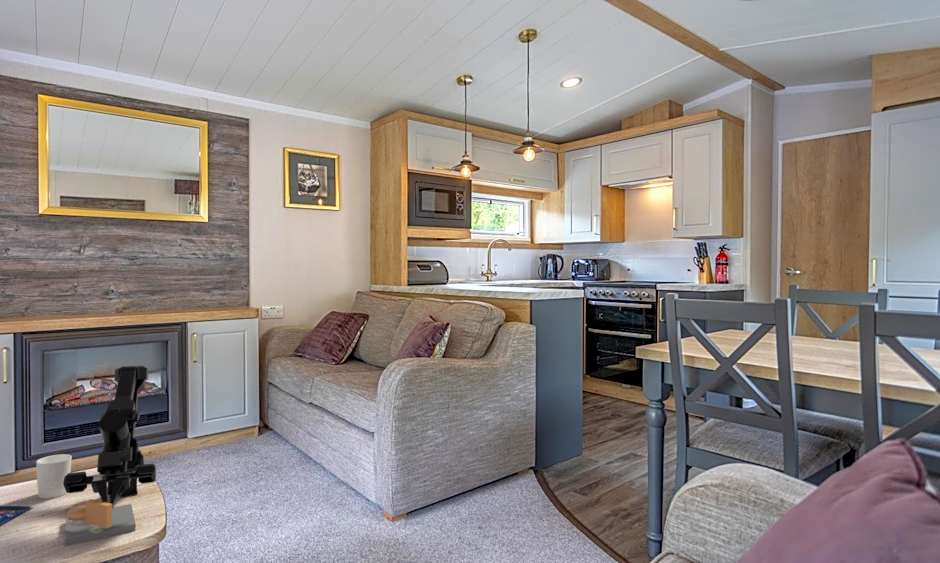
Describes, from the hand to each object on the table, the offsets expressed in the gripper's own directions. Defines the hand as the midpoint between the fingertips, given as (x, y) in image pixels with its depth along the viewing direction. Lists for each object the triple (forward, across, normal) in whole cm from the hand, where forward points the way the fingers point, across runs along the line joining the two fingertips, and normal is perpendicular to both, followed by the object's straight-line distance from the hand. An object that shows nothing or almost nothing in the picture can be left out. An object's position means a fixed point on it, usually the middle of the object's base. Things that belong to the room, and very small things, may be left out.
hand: (107, 512), depth 125 cm
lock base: (0, -2, +9) cm, 9 cm away
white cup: (-19, -18, +29) cm, 39 cm away
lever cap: (+1, -4, +3) cm, 5 cm away
